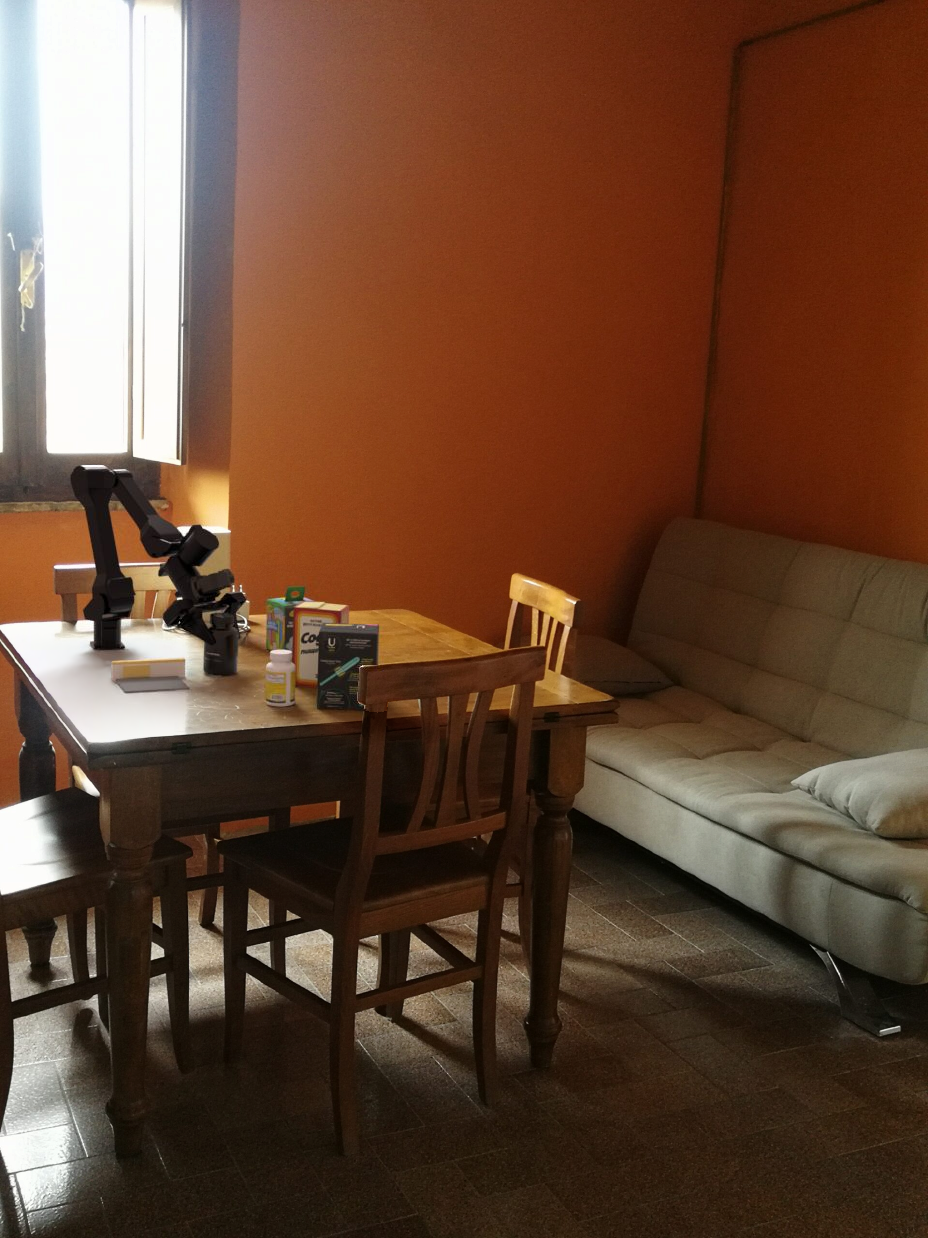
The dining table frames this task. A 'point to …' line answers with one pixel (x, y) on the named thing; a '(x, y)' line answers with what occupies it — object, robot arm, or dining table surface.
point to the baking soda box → (312, 636)
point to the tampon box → (344, 662)
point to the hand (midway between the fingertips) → (226, 641)
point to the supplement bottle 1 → (221, 646)
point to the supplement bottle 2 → (280, 679)
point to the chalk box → (282, 619)
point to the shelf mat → (152, 684)
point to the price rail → (148, 668)
